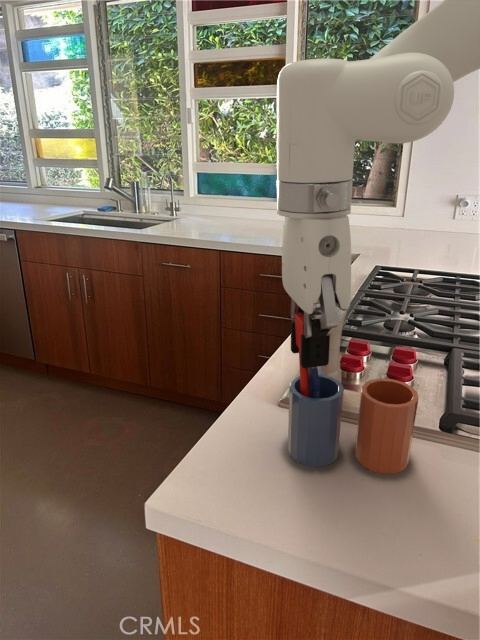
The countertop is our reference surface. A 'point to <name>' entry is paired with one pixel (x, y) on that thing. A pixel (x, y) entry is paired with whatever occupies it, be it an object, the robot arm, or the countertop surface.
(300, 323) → the red spatula
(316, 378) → the navy spoon
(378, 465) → the terracotta cup
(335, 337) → the silver bottle
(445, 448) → the countertop surface
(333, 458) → the blue cup
